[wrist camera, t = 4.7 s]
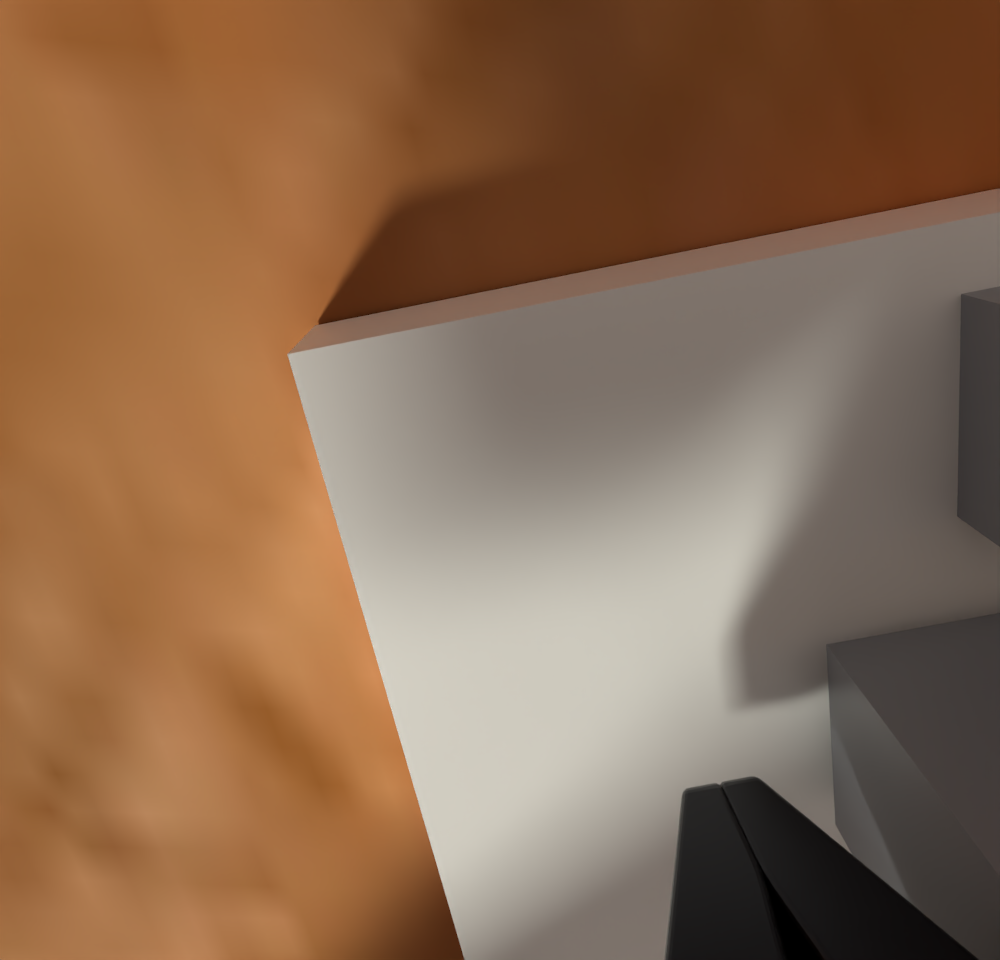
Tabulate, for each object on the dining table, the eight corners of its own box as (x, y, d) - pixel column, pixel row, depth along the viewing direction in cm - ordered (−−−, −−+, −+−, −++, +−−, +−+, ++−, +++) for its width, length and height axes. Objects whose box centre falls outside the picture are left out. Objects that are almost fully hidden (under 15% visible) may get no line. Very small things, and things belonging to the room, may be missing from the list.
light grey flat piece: (498, 988, 13) (503, 1148, 11) (315, 325, 9) (268, 373, 7) (1117, 883, 13) (1247, 1027, 11) (1204, 147, 9) (1441, 140, 7)
